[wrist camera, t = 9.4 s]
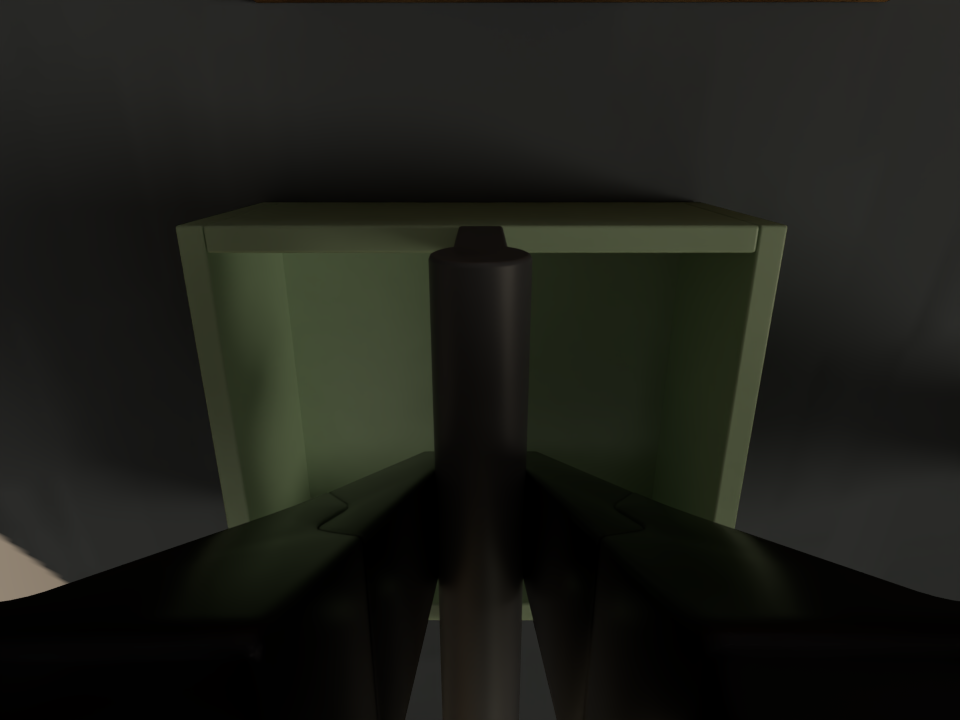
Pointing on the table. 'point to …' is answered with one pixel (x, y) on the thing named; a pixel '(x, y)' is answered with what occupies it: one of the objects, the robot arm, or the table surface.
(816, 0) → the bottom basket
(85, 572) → the table surface
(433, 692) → the table surface
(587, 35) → the table surface
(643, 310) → the top basket
